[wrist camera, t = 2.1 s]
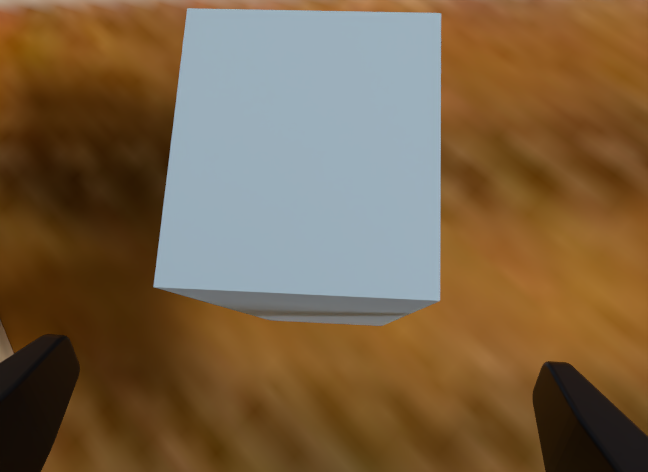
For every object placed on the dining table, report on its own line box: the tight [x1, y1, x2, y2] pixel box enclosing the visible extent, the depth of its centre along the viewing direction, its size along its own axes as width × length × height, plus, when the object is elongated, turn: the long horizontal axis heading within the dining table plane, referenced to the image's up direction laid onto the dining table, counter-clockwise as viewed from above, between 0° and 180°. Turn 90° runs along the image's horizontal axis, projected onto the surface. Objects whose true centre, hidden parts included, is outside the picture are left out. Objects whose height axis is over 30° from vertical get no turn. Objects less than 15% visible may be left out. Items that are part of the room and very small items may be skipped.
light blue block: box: [153, 9, 441, 326], centre depth 14 cm, size 5×4×12 cm
